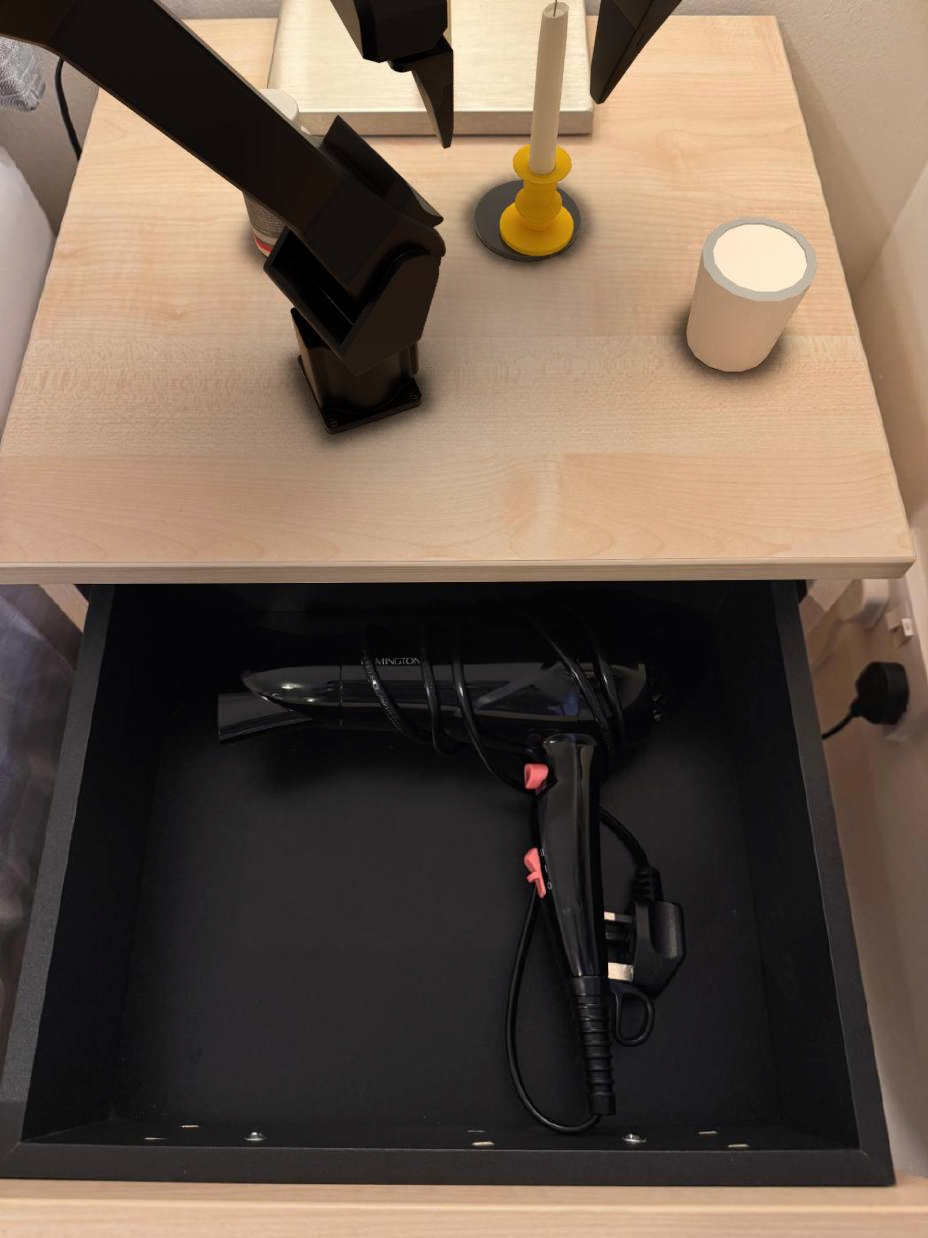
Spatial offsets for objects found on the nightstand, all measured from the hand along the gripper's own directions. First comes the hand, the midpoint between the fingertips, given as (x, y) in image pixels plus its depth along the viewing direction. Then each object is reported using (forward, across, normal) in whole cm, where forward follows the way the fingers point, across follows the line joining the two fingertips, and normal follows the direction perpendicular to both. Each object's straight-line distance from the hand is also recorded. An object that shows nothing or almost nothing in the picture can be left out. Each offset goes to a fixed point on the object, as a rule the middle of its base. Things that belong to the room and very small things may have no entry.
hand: (521, 120), depth 48 cm
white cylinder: (+13, -12, +9) cm, 20 cm away
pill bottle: (+13, +12, -11) cm, 21 cm away
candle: (+13, -4, -5) cm, 14 cm away
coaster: (+13, -4, -6) cm, 15 cm away
